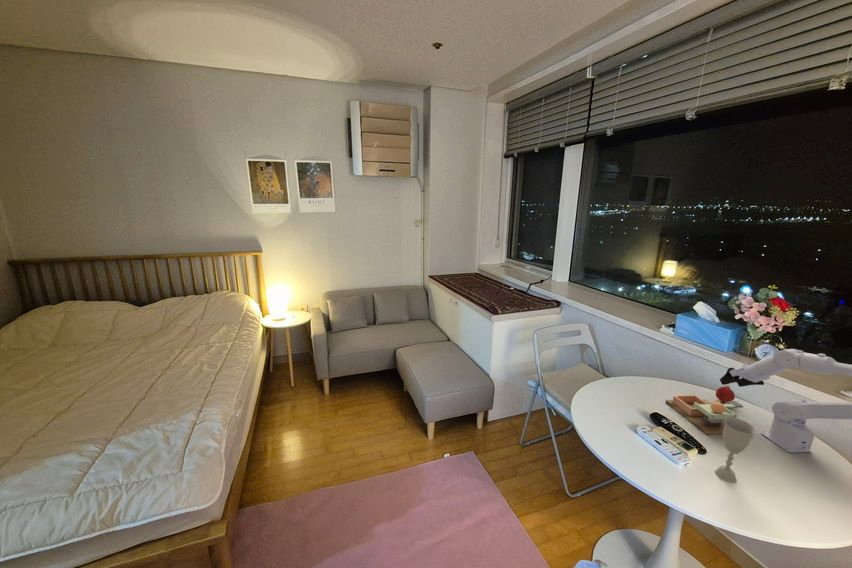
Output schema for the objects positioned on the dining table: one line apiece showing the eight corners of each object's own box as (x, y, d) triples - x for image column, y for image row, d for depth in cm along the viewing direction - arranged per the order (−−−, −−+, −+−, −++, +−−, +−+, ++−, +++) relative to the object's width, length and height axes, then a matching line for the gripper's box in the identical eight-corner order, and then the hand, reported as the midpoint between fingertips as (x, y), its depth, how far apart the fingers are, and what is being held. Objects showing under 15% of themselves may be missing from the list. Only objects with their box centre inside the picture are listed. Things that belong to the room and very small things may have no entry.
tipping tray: (759, 422, 119) (761, 414, 118) (710, 423, 119) (712, 415, 118) (734, 406, 129) (735, 398, 128) (689, 407, 128) (690, 399, 127)
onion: (718, 405, 136) (722, 387, 134) (711, 397, 141) (715, 380, 139) (735, 407, 134) (740, 390, 132) (727, 399, 140) (731, 383, 138)
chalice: (743, 489, 96) (758, 436, 92) (713, 479, 99) (726, 427, 95) (737, 472, 102) (751, 422, 98) (709, 463, 106) (721, 414, 101)
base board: (752, 433, 119) (755, 421, 118) (706, 434, 119) (709, 422, 117) (704, 401, 139) (707, 390, 137) (665, 402, 138) (667, 391, 137)
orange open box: (712, 415, 128) (714, 408, 127) (690, 416, 127) (691, 408, 127) (693, 402, 136) (695, 395, 136) (672, 402, 136) (673, 395, 135)
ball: (726, 415, 119) (729, 405, 118) (716, 415, 119) (718, 406, 118) (717, 408, 123) (719, 399, 122) (706, 409, 123) (708, 399, 122)
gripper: (773, 361, 123) (740, 375, 133) (740, 356, 121) (708, 371, 131) (786, 379, 118) (750, 392, 129) (751, 374, 117) (717, 388, 127)
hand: (730, 383), depth 130 cm, fingers open, 7 cm apart
